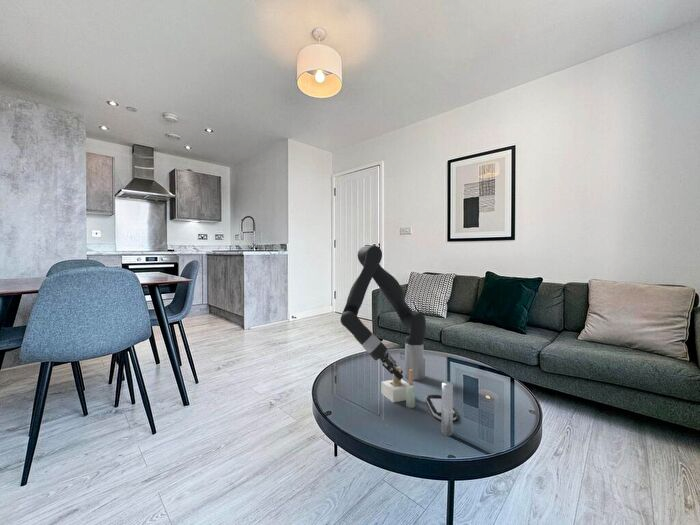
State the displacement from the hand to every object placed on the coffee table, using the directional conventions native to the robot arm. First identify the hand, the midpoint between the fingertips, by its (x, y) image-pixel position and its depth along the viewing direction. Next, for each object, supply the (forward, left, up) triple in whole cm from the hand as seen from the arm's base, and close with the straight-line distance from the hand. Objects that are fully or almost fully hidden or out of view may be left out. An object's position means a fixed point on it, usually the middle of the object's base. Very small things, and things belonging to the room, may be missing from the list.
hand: (401, 375), depth 126 cm
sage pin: (+2, +9, -9) cm, 13 cm away
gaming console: (-8, +16, -9) cm, 20 cm away
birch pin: (+2, -1, -9) cm, 9 cm away
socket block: (+2, -1, -9) cm, 9 cm away
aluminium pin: (+2, +30, -9) cm, 31 cm away
